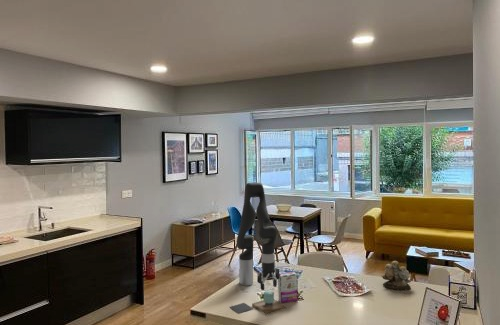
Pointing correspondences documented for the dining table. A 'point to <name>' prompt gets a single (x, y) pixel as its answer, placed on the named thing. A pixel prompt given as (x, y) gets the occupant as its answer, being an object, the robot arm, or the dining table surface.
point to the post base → (268, 306)
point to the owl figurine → (396, 277)
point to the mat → (241, 308)
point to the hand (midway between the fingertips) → (268, 288)
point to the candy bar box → (288, 287)
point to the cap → (268, 296)
